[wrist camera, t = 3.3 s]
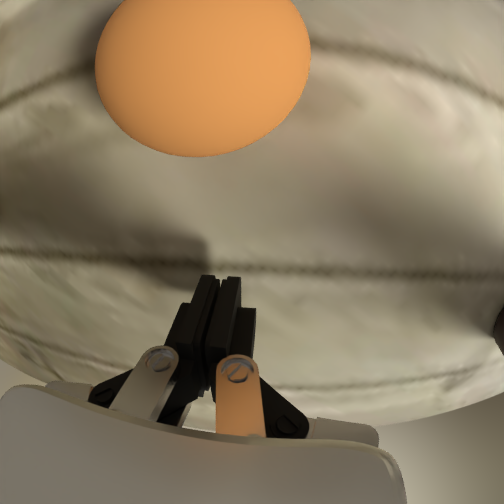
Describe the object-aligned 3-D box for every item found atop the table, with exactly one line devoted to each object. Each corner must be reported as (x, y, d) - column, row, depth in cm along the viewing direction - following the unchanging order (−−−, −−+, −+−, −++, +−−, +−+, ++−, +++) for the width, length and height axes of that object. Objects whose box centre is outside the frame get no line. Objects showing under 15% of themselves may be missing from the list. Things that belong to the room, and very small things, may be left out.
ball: (151, 145, 11) (58, 189, 5) (151, 16, 8) (62, -27, 2) (297, 144, 10) (323, 187, 5) (300, 6, 7) (323, -74, 2)
